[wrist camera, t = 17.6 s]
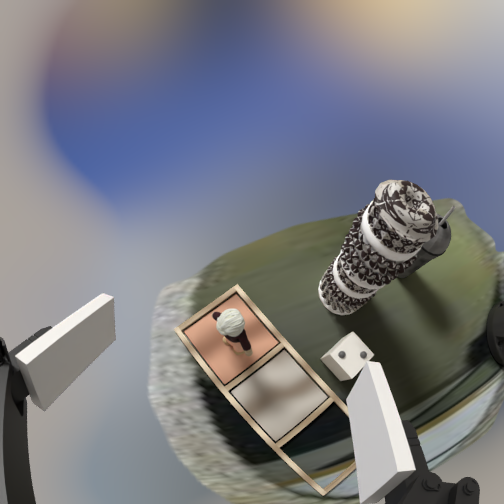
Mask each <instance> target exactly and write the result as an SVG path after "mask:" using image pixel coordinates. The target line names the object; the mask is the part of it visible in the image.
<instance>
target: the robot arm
mask: <svg viewBox="0 0 504 504" xmlns="http://www.w3.org/2000/svg"><path fill="white" fill-rule="evenodd" d="M115 340H116V336H115V317H114V297H112V296H109V295H107V294H104V293H102V294H101V295H99V296H98V297H96V298H95V299H93V300H92V301H90V302H89V303H88V304H86V305H84V306H83V307H82V308H80V309H79V310H77V311H76V312H75V313H73V314H71V315H70V316H69V317H67V318H66V319H64V320H63V321H62V322H60V323H59V324H57V325H56V326H55V327H51V326H49V327H46V328H43V329H41V330H39V331H38V332H36V333H35V334H34V336H31V337H30V338H28V340H25V341H24V342H22V343H21V344H20V345H18V346H17V347H16V348H14V349H13V350H12V351H10V352H9V353H8V351H7V348H6V344H5V341H4V340H3V338H1V337H0V504H36V502H35V497H34V492H33V486H32V479H31V472H30V464H29V453H28V438H27V400H26V397H27V396H28V395H30V397H31V399H32V402H33V403H34V404H35V405H37V406H38V407H39V408H41V409H42V410H43V411H46V409H47V408H48V407H49V406H50V405H51V404H52V403H53V402H54V401H55V400H56V399H57V398H58V397H59V396H60V395H61V394H62V393H63V392H64V391H65V390H66V389H67V388H68V387H69V386H70V385H71V383H73V381H75V380H76V378H77V377H78V376H79V375H80V374H81V373H82V372H83V371H84V370H85V369H86V368H87V367H88V366H89V365H90V364H91V363H92V362H93V361H94V360H95V359H96V358H97V357H98V356H99V355H100V354H101V353H102V352H103V351H104V350H105V349H106V348H107V347H108V346H109V345H111V344H112V343H113V341H115ZM487 340H488V345H489V348H490V351H491V353H492V355H493V357H494V359H495V360H496V361H497V362H498V363H499V364H501V365H504V301H501V302H499V303H498V304H496V305H494V306H493V307H492V309H491V310H490V312H489V315H488V319H487ZM346 401H347V406H348V412H349V419H350V425H351V432H352V438H353V446H354V453H355V461H356V469H357V478H358V487H359V497H360V504H369V503H377V502H379V501H380V500H381V499H382V498H384V497H385V502H386V503H385V504H479V494H480V489H479V485H478V483H477V481H476V480H475V479H473V478H471V477H465V478H463V479H461V480H460V481H459V482H458V483H456V484H454V483H446V482H442V480H441V479H440V477H439V476H438V475H436V474H435V473H432V472H429V470H428V466H427V463H426V460H425V457H424V454H423V451H422V448H421V446H420V442H419V439H418V436H417V433H416V430H415V428H414V427H413V426H412V424H411V423H410V422H409V421H408V420H401V419H400V416H399V413H398V411H397V408H396V405H395V402H394V399H393V396H392V393H391V391H390V388H389V385H388V383H387V380H386V377H385V375H384V372H383V369H382V367H381V364H380V363H378V362H371V361H366V363H365V365H364V367H363V369H362V371H361V373H360V375H359V377H358V379H357V381H356V383H355V385H354V387H353V388H352V390H351V392H350V394H349V396H348V397H347V399H346Z"/></svg>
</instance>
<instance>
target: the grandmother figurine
mask: <svg viewBox="0 0 504 504" xmlns="http://www.w3.org/2000/svg"><path fill="white" fill-rule="evenodd" d="M212 318H213V319H214V320H216V321H217V324H216V328H217V330H218V331H219V333H220V334H222V335H224V337H223V342H224V343H225V344H226V345H232V346H233V351H234V353H235V354H236V355H240V354H243V353H245V354H246V355H247V356H251V355H252V354H253V351H252V348H251V344H250V342H249V340H248V338H247V335H246V331H245V329H244V327H245V321H244V318H243V316H242V315H241V313H240V312H239V310H237V309H233V308H232V309H227V310H225V311H224V312H222V313H220V312H213V313H212Z"/></svg>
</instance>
